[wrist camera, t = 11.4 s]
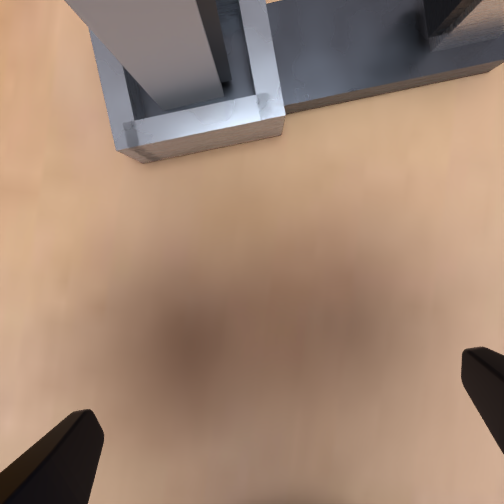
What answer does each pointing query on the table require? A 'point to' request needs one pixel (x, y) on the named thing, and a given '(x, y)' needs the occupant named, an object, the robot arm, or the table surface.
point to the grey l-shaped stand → (304, 66)
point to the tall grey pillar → (163, 45)
